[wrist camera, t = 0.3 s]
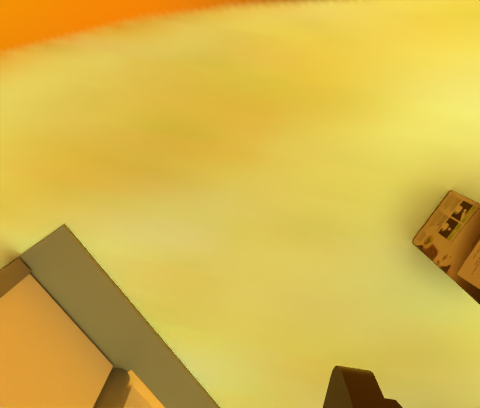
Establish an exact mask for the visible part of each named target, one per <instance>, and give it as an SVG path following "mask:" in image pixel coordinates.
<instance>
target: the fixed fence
mask: <svg viewBox="0 0 480 408" xmlns="http://www.w3.org/2000/svg"><path fill="white" fill-rule="evenodd" d="M129 381H130V376H129V374H128V373H127V371H126V370H125V369H123V368H114V369H112V370H111V371H110V373H109V375H108V377H107V380H106V382H105V384H104V386H103V388H102V390H101V392H100V394H99V396H98V398H97V400H96V402H95V404H94V406H93V408H152V407H151V405H150V404H149V403H148V402H147V401H146V400H145V399H144V398H143V397H142V395H141V394H140V393H139V392H138V391H137V390H136V389H135V388H134V387H133V385H132V386H130V387H129V388H127V386H128V383H129ZM126 388H127V389H126Z"/></svg>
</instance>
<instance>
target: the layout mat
mask: <svg viewBox="0 0 480 408" xmlns="http://www.w3.org/2000/svg"><path fill="white" fill-rule="evenodd" d="M18 258H20V259H21V260H22V262H23V263H24V264H25V265H26V266H27V267H28V268H29V269H30V270H31V273H30V274H31V276H32V277H33V278H34V279H35V280H36V281H37V282H38V283H39V284H40V285H41V287H42V288H43V289H44V290H45V291H46V292H47V293H48V294H49V295H50V297H51V298H52V299H53V300H54V301H55V302H56V303H57V304H58V305H59V307H60V308H61V309H62V310H63V311H64V312H65V313H66V314H67V315H68V317H69V318H70V319H71V320H72V321H73V322H74V323H75V324H76V325H77V326H78V328H79V329H80V330H81V331H82V332H83V333H84V334H85V335H86V336H87V338H88V339H89V340H90V341H91V342H92V343H93V344H94V345H95V346H96V348H97V349H98V350H99V351H100V352H101V353H102V354H103V355H104V356H105V357H106V359H107V360H108V361H109V362H110V363H111V364H112V365H113V367H112V369H114V368H123V369H125V370H126V371H127V373H128V374H129V376H130V381H129V383H128V386H127V388H129V387H130V386H132V385H133V387H134V388H135V389H136V390H137V391H138V392H139V393H140V394H141V395H142V397H143V398H144V399H145V400H146V401H147V402H148V403H149V404H150V405H151V407H152V408H219V406H218V405H217V404H216V403H215V402H214V400H213V399H212V398H211V397H210V396H209V395H208V393H207V392H206V391H205V390H204V389H203V387H202V386H201V385H200V384H199V383H198V381H197V380H196V379H195V378H194V377H193V376H192V374H191V373H190V372H189V371H188V370H187V368H186V367H185V366H184V365H183V364H182V363H181V361H180V360H179V359H178V358H177V357H176V355H175V354H174V353H173V352H172V351H171V350H170V348H169V347H168V346H167V345H166V344H165V342H164V341H163V340H162V339H161V338H160V337H159V335H158V334H157V333H156V332H155V331H154V329H153V328H152V327H151V326H150V325H149V323H148V322H147V321H146V320H145V319H144V318H143V316H142V315H141V314H140V313H139V312H138V310H137V309H136V308H135V307H134V306H133V305H132V303H131V302H130V301H129V300H128V299H127V297H126V296H125V295H124V294H123V293H122V292H121V290H120V289H119V288H118V287H117V286H116V284H115V283H114V282H113V281H112V280H111V278H110V277H109V276H108V275H107V274H106V273H105V271H104V270H103V269H102V268H101V267H100V265H99V264H98V263H97V262H96V261H95V260H94V258H93V257H92V256H91V255H90V254H89V252H88V251H87V250H86V249H85V248H84V247H83V245H82V244H81V243H80V242H79V241H78V239H77V238H76V237H75V236H74V235H73V234H72V232H71V231H70V230H69V229H68V228H67V226H66V225H63V226H62V227H61V228H59V229H58V230H56V231H55V232H53V233H52V234H51V235H49V236H48V237H46V238H45V239H43V240H42V241H41V242H39V243H38V244H36V245H35V246H34V247H32V248H31V249H29V250H28V251H26V252H25V253H24V254H22V255H21V256H19V257H18ZM18 258H16V259H15V260H14V261H16V260H17V259H18ZM14 261H12V262H11V263H13V262H14ZM11 263H9V264H8V265H10V264H11ZM8 265H6V266H5V267H4V268H6V267H7V266H8ZM4 268H2V269H1V270H3V269H4ZM1 270H0V271H1ZM112 369H111V370H112ZM127 388H126V389H127Z"/></svg>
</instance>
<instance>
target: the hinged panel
mask: <svg viewBox="0 0 480 408" xmlns="http://www.w3.org/2000/svg"><path fill="white" fill-rule="evenodd" d="M30 273H31V270H30V269H29V268H28V267H27V266H26V265H25V264H24V263H23V262H22V260H21V259H20V258H18V259H17V260H16V261H14V262H13V263H11V264H10V265H8V266H7V267H6V268H4V269H3V270H1V271H0V408H93V406H94V404H95V402H96V400H97V398H98V396H99V394H100V392H101V390H102V388H103V386H104V384H105V382H106V380H107V377H108V375H109V373H110V371H111V369H112V367H113V365H112V364H111V363H110V362H109V361H108V360H107V359H106V357H105V356H104V355H103V354H102V353H101V352H100V351H99V350H98V349H97V348H96V346H95V345H94V344H93V343H92V342H91V341H90V340H89V339H88V338H87V336H86V335H85V334H84V333H83V332H82V331H81V330H80V329H79V328H78V326H77V325H76V324H75V323H74V322H73V321H72V320H71V319H70V318H69V317H68V315H67V314H66V313H65V312H64V311H63V310H62V309H61V308H60V307H59V305H58V304H57V303H56V302H55V301H54V300H53V299H52V298H51V297H50V295H49V294H48V293H47V292H46V291H45V290H44V289H43V288H42V287H41V285H40V284H39V283H38V282H37V281H36V280H35V279H34V278H33V277H32V276H31V274H30Z"/></svg>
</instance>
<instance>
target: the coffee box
mask: <svg viewBox="0 0 480 408" xmlns="http://www.w3.org/2000/svg"><path fill="white" fill-rule="evenodd" d="M413 244H414V245H415V246H416V247H418V248H419V249H420V250H421V251H422V252H423V253H424V254H425V255H426V256H427V257H428V258H429V259H431V260H432V261H433V262H434V263H435V264H436V265H437V266H438V267H439V268H440V269H442V270H443V271H444V272H445V273H446V274H447V275H448V276H449V277H450V278H452V279H453V280H454V281H455V282H456V283H457V284H458V285H459V286H460V287H461V288H462V289H464V290H465V291H466V292H467V293H468V294H469V295H470V296H471V297H472V298H473V299H474V300H476V301H477V302H478V303H479V304H480V204H479V203H477V202H475V201H472V200H470V199H468V198H466V197H464V196H462V195H460V194H458V193H456V192H454V191H450V192H449V194H448V195H447V196H446V198H445V199H444V200H443V201H442V203H441V204H440V205H439V207H438V208H437V209H436V211H435V212H434V213H433V215H432V216H431V217H430V218H429V220H428V221H427V222H426V224H425V225H424V226H423V228H422V229H421V230H420V232H419V233H418V234H417V236H416V237H415V238H414V240H413Z"/></svg>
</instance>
